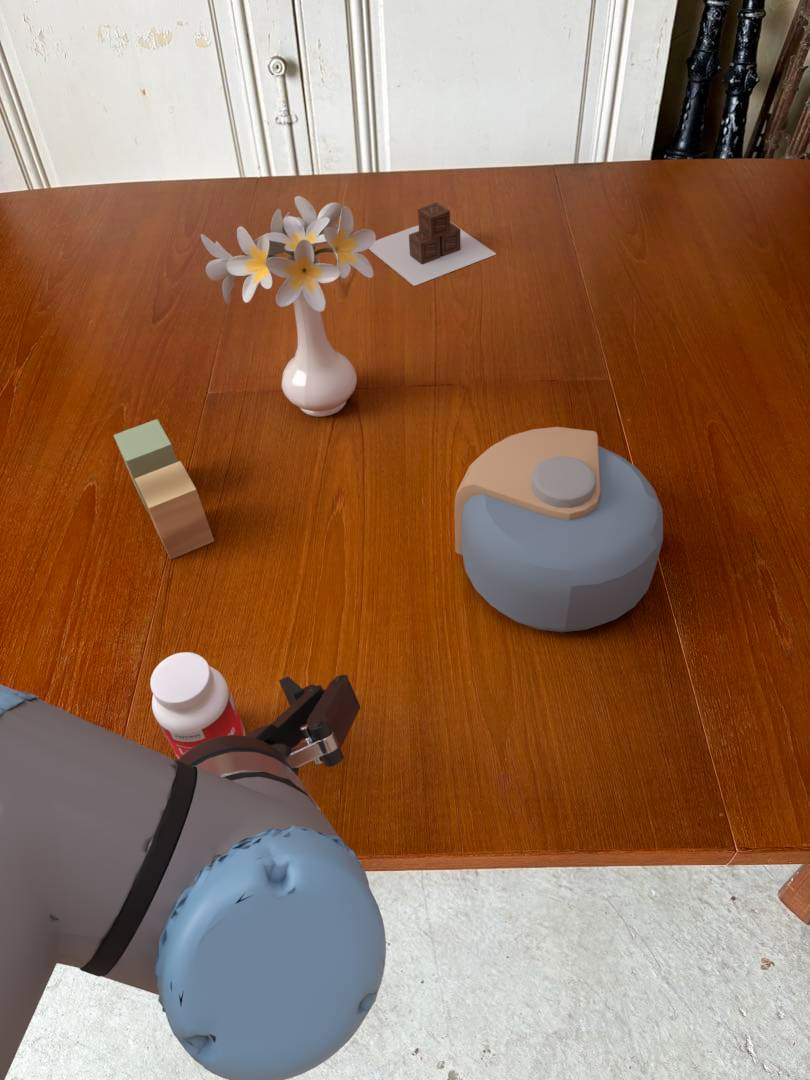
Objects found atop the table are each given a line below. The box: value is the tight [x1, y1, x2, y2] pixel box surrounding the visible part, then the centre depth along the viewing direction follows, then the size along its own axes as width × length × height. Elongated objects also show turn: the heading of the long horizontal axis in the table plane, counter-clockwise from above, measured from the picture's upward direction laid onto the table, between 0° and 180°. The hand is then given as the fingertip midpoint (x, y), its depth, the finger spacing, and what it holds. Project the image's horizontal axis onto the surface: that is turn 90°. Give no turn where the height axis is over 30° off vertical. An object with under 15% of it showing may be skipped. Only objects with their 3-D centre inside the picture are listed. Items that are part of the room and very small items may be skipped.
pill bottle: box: [149, 651, 246, 760], centre depth 68 cm, size 6×6×11 cm
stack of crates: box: [367, 202, 497, 287], centre depth 124 cm, size 15×15×7 cm
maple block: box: [135, 460, 215, 560], centre depth 86 cm, size 5×5×8 cm
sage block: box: [113, 418, 179, 514], centre depth 91 cm, size 5×5×8 cm
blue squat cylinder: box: [454, 426, 664, 633], centre depth 79 cm, size 19×20×12 cm
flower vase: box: [200, 195, 377, 418], centre depth 93 cm, size 13×18×25 cm
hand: (206, 735), depth 60 cm, fingers open, 13 cm apart
